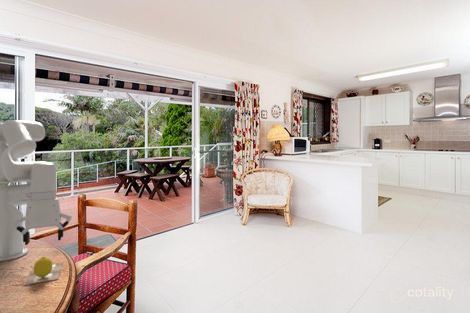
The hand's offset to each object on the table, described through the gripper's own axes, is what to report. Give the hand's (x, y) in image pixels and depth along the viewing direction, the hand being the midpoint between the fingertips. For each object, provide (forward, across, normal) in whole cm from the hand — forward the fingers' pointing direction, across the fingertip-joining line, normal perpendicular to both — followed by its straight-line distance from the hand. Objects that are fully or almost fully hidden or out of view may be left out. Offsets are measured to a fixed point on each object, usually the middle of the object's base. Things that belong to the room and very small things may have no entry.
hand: (43, 241), depth 91 cm
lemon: (+14, 0, +1) cm, 14 cm away
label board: (+14, 0, +5) cm, 15 cm away
